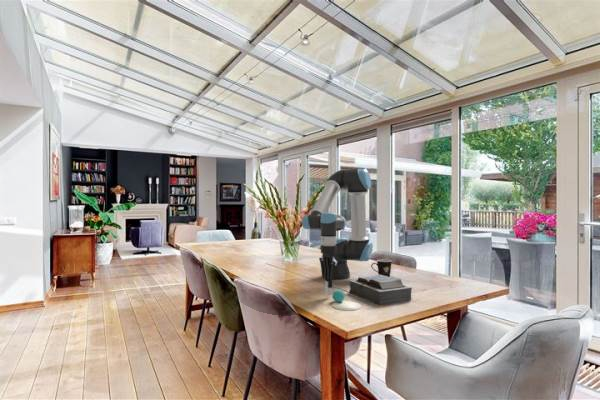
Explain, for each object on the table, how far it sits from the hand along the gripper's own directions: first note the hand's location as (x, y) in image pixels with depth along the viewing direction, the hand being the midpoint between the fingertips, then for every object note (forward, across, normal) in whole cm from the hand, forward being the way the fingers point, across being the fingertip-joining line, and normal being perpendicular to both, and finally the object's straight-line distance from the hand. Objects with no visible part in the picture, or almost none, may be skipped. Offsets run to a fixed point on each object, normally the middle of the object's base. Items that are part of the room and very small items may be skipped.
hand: (328, 294), depth 167 cm
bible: (+3, +10, +24) cm, 25 cm away
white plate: (+2, +14, 0) cm, 14 cm away
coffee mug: (+2, -20, +53) cm, 57 cm away
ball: (-1, +8, 0) cm, 8 cm away
